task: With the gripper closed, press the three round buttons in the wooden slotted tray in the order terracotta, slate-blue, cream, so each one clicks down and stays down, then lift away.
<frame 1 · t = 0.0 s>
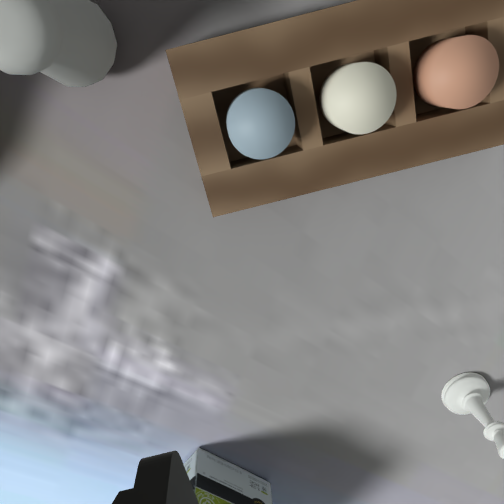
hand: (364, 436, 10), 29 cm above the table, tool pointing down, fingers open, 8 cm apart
cream button: (356, 98, 31), point 4 cm above the table, slide at 0.0 cm
chess piece: (463, 390, 47), on the table
slate button: (259, 122, 32), point 4 cm above the table, slide at 0.0 cm
terracotta button: (454, 73, 31), point 4 cm above the table, slide at 0.0 cm
wooden slotted tray: (341, 95, 35), on the table
tea box: (195, 503, 50), on the table
salt shaker: (83, 44, 33), on the table
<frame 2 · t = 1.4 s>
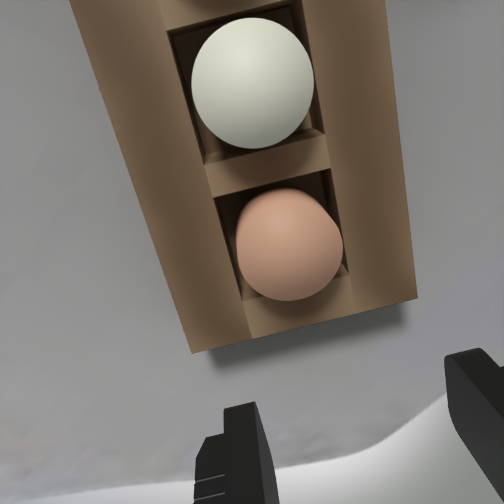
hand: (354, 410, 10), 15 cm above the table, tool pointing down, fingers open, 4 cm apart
cream button: (250, 85, 18), point 4 cm above the table, slide at 0.0 cm
terracotta button: (285, 241, 21), point 4 cm above the table, slide at 0.0 cm
wooden slotted tray: (244, 83, 22), on the table
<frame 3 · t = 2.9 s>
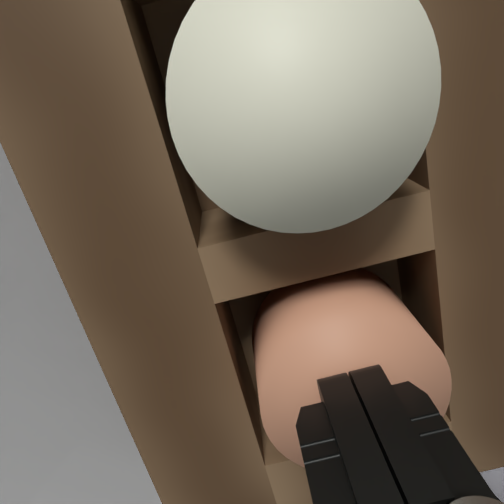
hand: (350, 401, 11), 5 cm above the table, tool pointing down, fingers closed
cream button: (291, 98, 9), point 4 cm above the table, slide at 0.0 cm
terracotta button: (340, 364, 12), point 3 cm above the table, slide at 0.7 cm, touching gripper
wooden slotted tray: (270, 91, 13), on the table
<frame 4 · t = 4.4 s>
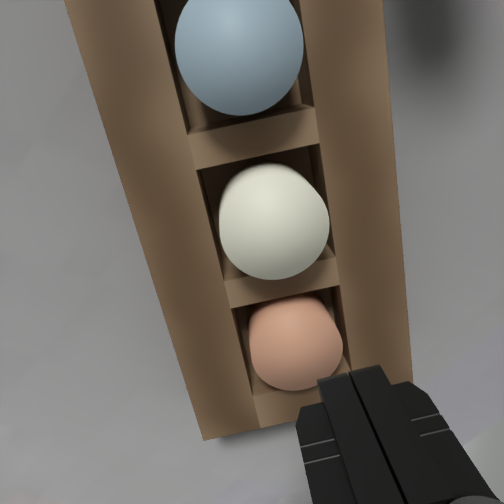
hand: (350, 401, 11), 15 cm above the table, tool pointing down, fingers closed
cream button: (270, 218, 20), point 4 cm above the table, slide at 0.0 cm
slate button: (237, 50, 17), point 4 cm above the table, slide at 0.0 cm
terracotta button: (292, 336, 24), point 3 cm above the table, slide at 1.1 cm
wooden slotted tray: (261, 196, 24), on the table
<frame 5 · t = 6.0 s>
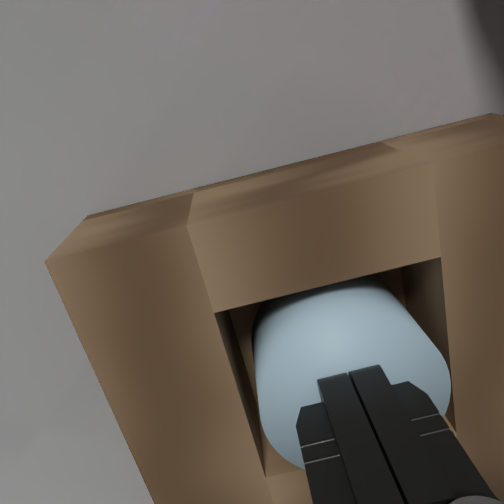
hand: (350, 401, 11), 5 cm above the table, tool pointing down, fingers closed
slate button: (340, 366, 12), point 3 cm above the table, slide at 1.0 cm, touching gripper
wooden slotted tray: (350, 464, 17), on the table
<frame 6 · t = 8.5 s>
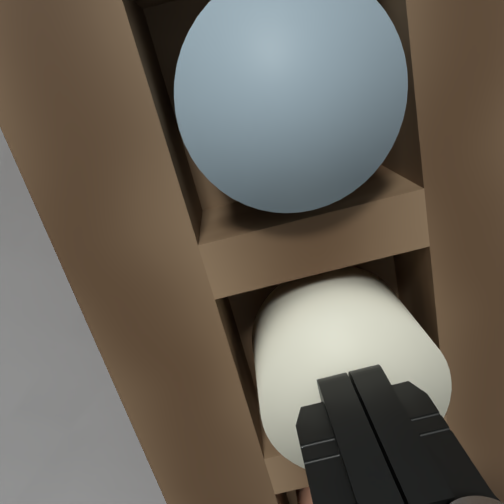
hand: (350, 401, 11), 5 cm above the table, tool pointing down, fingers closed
cream button: (340, 365, 12), point 4 cm above the table, slide at 0.4 cm, touching gripper
slate button: (282, 96, 10), point 3 cm above the table, slide at 1.1 cm
wooden slotted tray: (314, 301, 15), on the table
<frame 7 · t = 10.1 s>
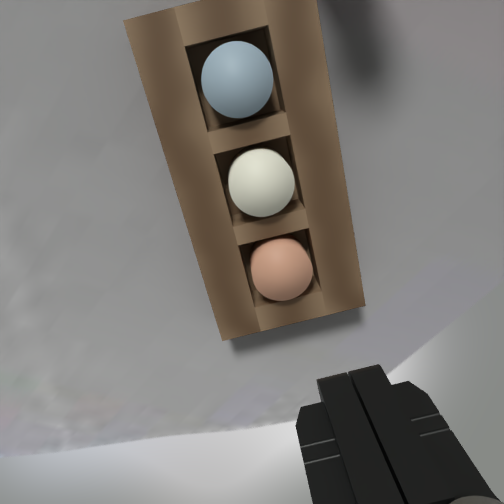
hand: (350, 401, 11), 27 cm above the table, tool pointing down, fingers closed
cream button: (259, 180, 33), point 3 cm above the table, slide at 1.1 cm
slate button: (236, 80, 30), point 3 cm above the table, slide at 1.1 cm
terracotta button: (279, 265, 35), point 3 cm above the table, slide at 1.1 cm
wooden slotted tray: (256, 172, 35), on the table
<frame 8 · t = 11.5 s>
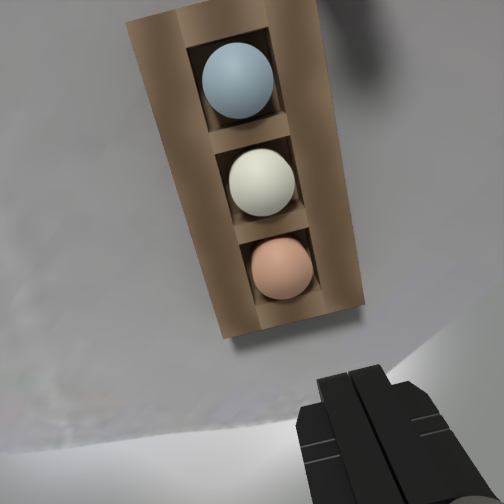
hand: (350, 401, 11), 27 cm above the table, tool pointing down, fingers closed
cream button: (260, 180, 33), point 3 cm above the table, slide at 1.1 cm
slate button: (237, 81, 30), point 3 cm above the table, slide at 1.1 cm
terracotta button: (280, 264, 36), point 3 cm above the table, slide at 1.1 cm
wooden slotted tray: (257, 172, 36), on the table
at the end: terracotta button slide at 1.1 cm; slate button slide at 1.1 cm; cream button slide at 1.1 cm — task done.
